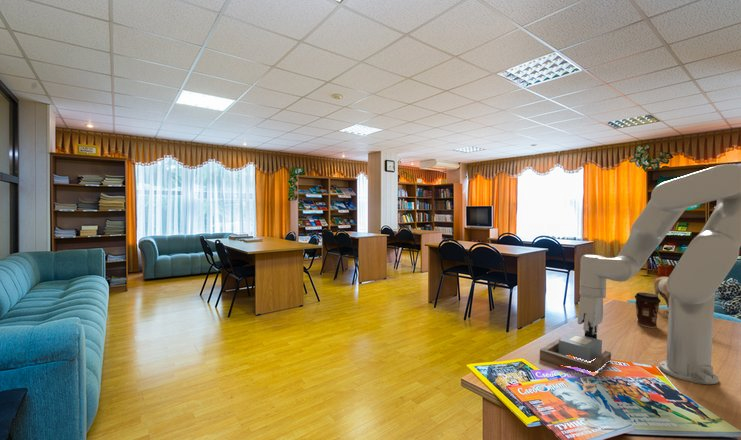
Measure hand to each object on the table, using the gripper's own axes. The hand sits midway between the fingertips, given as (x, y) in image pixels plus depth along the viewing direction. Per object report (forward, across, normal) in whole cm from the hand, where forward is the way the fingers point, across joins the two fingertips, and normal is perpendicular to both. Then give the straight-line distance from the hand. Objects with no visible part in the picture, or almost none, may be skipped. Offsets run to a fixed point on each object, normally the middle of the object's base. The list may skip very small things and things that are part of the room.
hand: (590, 344), depth 118 cm
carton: (+2, +8, 0) cm, 8 cm away
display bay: (+1, +14, 0) cm, 14 cm away
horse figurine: (+2, -72, +11) cm, 73 cm away
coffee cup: (+2, -46, +6) cm, 47 cm away
